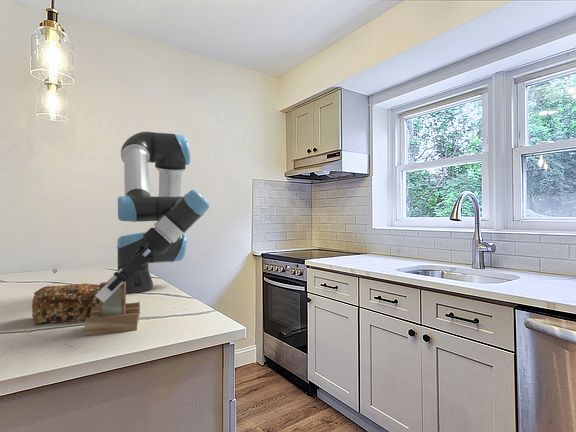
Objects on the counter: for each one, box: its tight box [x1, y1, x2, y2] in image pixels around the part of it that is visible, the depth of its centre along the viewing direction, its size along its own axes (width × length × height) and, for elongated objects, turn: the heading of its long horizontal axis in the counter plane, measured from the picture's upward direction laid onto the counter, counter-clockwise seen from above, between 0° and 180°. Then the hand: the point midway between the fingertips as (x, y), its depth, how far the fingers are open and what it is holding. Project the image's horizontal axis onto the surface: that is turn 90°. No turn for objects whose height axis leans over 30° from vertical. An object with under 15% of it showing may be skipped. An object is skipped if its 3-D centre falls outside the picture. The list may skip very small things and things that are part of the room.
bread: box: [31, 283, 100, 325], centre depth 102 cm, size 19×11×10 cm, turn 107°
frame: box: [98, 281, 127, 317], centre depth 92 cm, size 4×6×11 cm
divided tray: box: [84, 301, 141, 337], centre depth 95 cm, size 15×12×4 cm
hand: (103, 293), depth 91 cm, fingers open, 13 cm apart
